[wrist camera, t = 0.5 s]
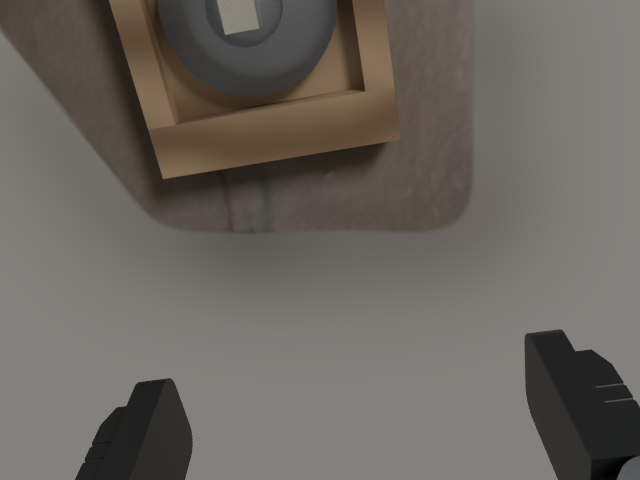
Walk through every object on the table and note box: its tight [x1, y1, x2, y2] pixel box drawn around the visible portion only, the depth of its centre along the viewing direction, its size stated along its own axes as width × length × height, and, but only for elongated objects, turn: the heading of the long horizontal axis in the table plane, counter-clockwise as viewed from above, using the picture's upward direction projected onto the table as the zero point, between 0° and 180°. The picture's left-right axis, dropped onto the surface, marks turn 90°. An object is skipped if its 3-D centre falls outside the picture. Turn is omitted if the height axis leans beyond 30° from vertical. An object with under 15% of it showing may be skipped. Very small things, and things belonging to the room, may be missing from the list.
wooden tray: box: [109, 0, 401, 179], centre depth 35 cm, size 18×15×3 cm
